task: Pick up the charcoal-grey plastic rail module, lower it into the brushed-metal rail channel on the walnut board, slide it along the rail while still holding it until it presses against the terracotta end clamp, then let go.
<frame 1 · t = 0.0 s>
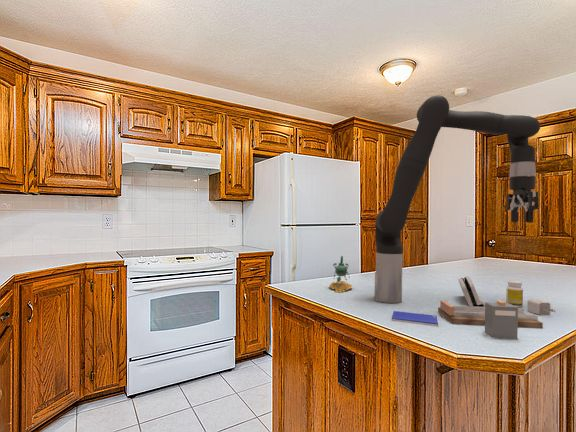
hand: (521, 222, 117), 29 cm above the table, fingers open, 8 cm apart
usb wall charger: (542, 315, 107), on the table
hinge: (470, 302, 123), on the table
supplement bottle: (514, 306, 117), on the table
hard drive: (414, 322, 99), on the table
rail board: (486, 319, 100), on the table
frog figurine: (341, 289, 141), on the table
rail module: (500, 335, 87), on the table
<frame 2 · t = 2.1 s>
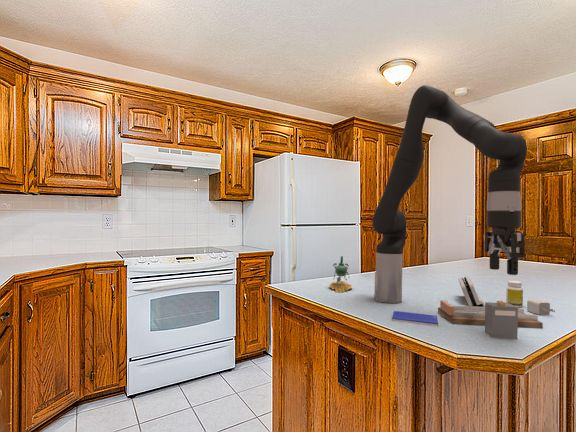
hand: (503, 271, 87), 16 cm above the table, fingers open, 8 cm apart
nothing on the table moved.
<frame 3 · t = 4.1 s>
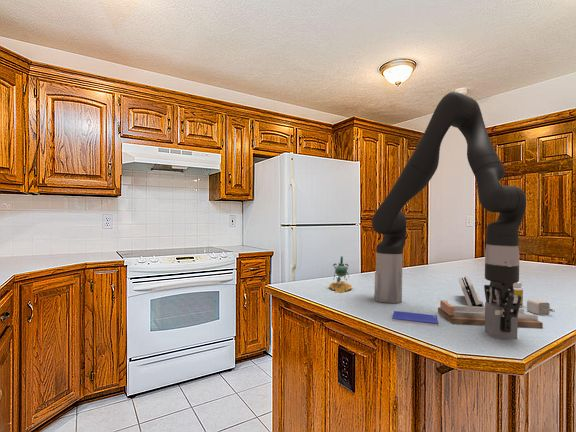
hand: (500, 328, 87), 2 cm above the table, fingers closed on rail module, 4 cm apart
rail module: (500, 335, 87), on the table, touching gripper
everything else where it was.
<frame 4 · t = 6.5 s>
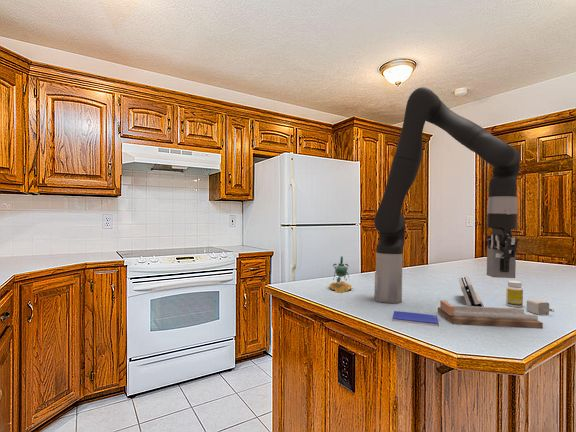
hand: (500, 270, 99), 15 cm above the table, fingers closed on rail module, 4 cm apart
rail module: (500, 276, 99), point 13 cm above the table, touching gripper
everything else where it was.
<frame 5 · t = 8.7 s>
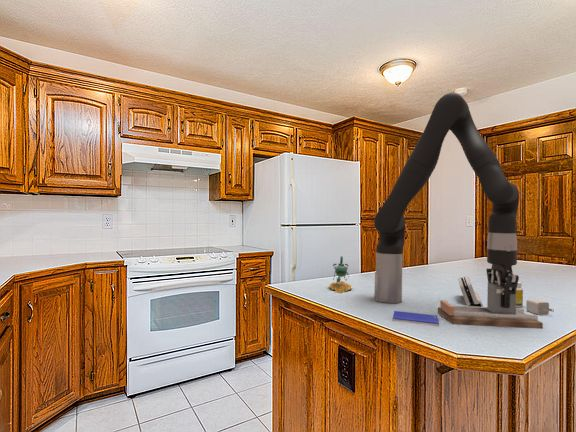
hand: (501, 305, 100), 4 cm above the table, fingers closed on rail module, 4 cm apart
rail module: (501, 311, 100), point 3 cm above the table, touching gripper
everything else where it was.
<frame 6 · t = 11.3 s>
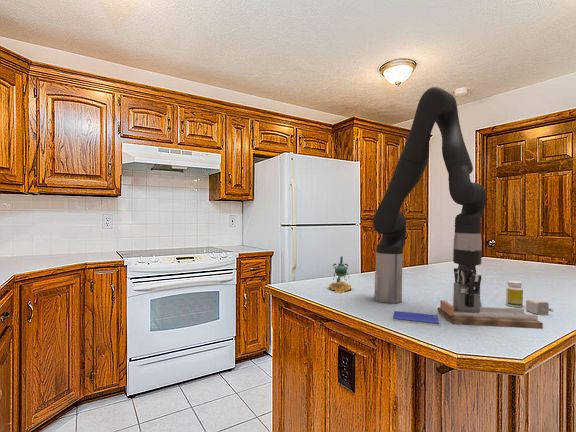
hand: (466, 304, 101), 4 cm above the table, fingers closed on rail module, 4 cm apart
rail module: (466, 310, 101), point 2 cm above the table, touching gripper
when the fingers open (4 cm above the table, at t = 13.3 s): rail module stays where it is, resting on rail board.
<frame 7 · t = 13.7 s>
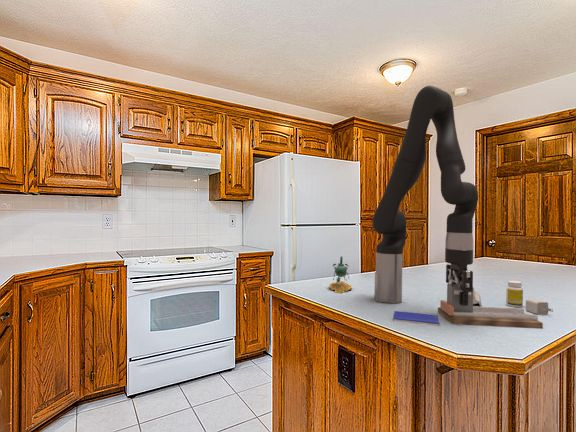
hand: (458, 301, 101), 5 cm above the table, fingers open, 7 cm apart
rail module: (459, 312, 101), point 2 cm above the table, touching rail board
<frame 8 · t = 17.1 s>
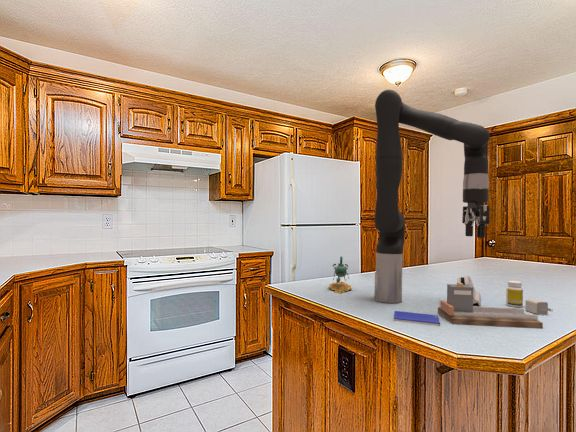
hand: (474, 237, 111), 24 cm above the table, fingers open, 8 cm apart
at the end: rail module 0.2 cm from the target spot on the rail board, point 1.8 cm above the rail board's base; rail module tilted 0°; the gripper is holding nothing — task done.
